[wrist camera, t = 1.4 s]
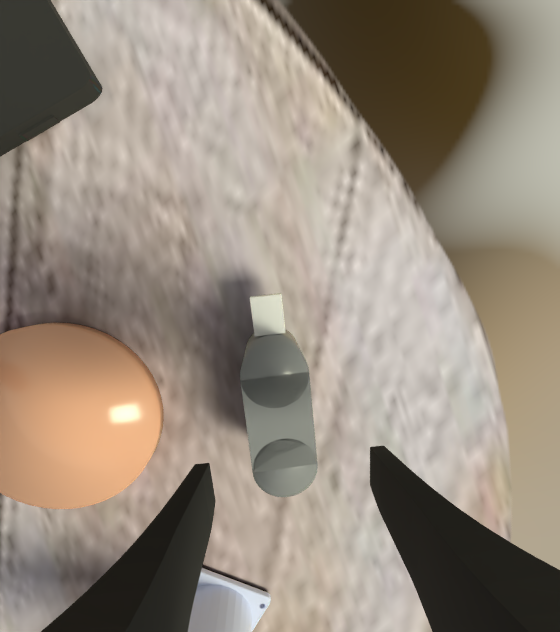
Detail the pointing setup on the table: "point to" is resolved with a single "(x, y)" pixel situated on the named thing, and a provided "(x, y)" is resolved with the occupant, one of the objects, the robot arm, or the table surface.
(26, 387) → the plate
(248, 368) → the connector
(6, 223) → the table surface
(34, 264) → the table surface
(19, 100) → the smart home device
